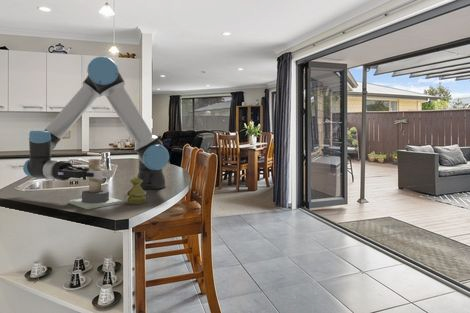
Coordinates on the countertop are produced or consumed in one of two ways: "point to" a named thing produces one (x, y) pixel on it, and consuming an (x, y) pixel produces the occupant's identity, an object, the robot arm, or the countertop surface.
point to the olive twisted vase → (136, 192)
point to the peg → (94, 183)
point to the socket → (95, 200)
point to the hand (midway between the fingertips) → (106, 174)
